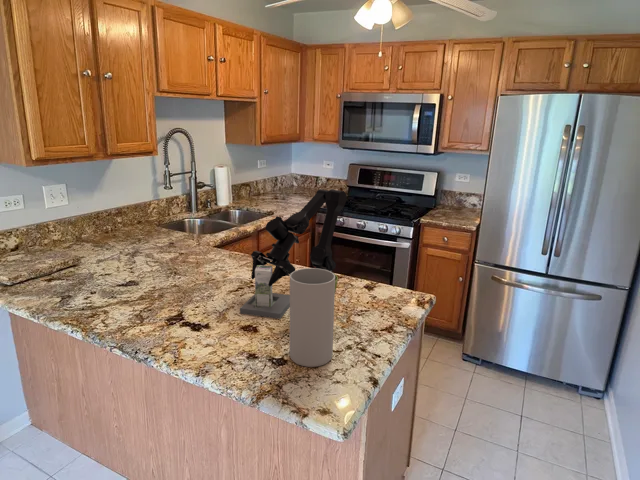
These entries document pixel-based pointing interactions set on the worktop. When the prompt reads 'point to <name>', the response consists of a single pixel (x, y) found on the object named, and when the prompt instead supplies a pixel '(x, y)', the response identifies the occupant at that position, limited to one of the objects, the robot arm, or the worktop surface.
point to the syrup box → (263, 286)
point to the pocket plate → (275, 311)
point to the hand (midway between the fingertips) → (260, 282)
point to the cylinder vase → (311, 316)
